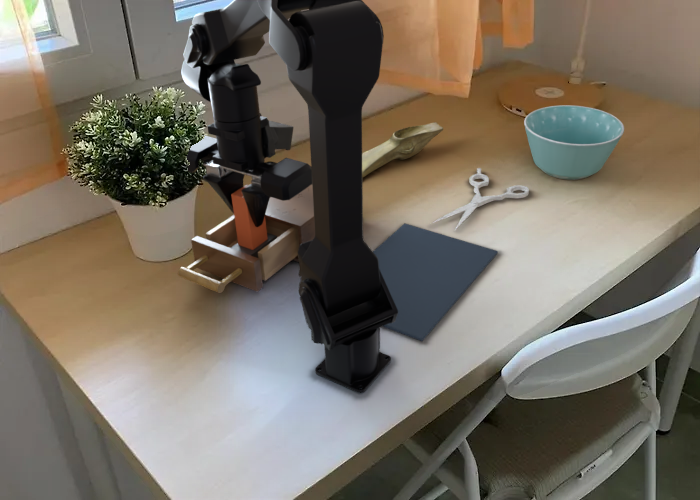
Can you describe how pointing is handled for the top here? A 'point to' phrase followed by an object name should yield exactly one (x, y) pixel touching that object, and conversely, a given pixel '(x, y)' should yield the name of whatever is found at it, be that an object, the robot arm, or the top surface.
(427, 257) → the mat
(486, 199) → the scissors
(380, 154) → the tool
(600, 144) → the bowl
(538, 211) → the top surface
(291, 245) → the drawer
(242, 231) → the stamp
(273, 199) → the cabinet
